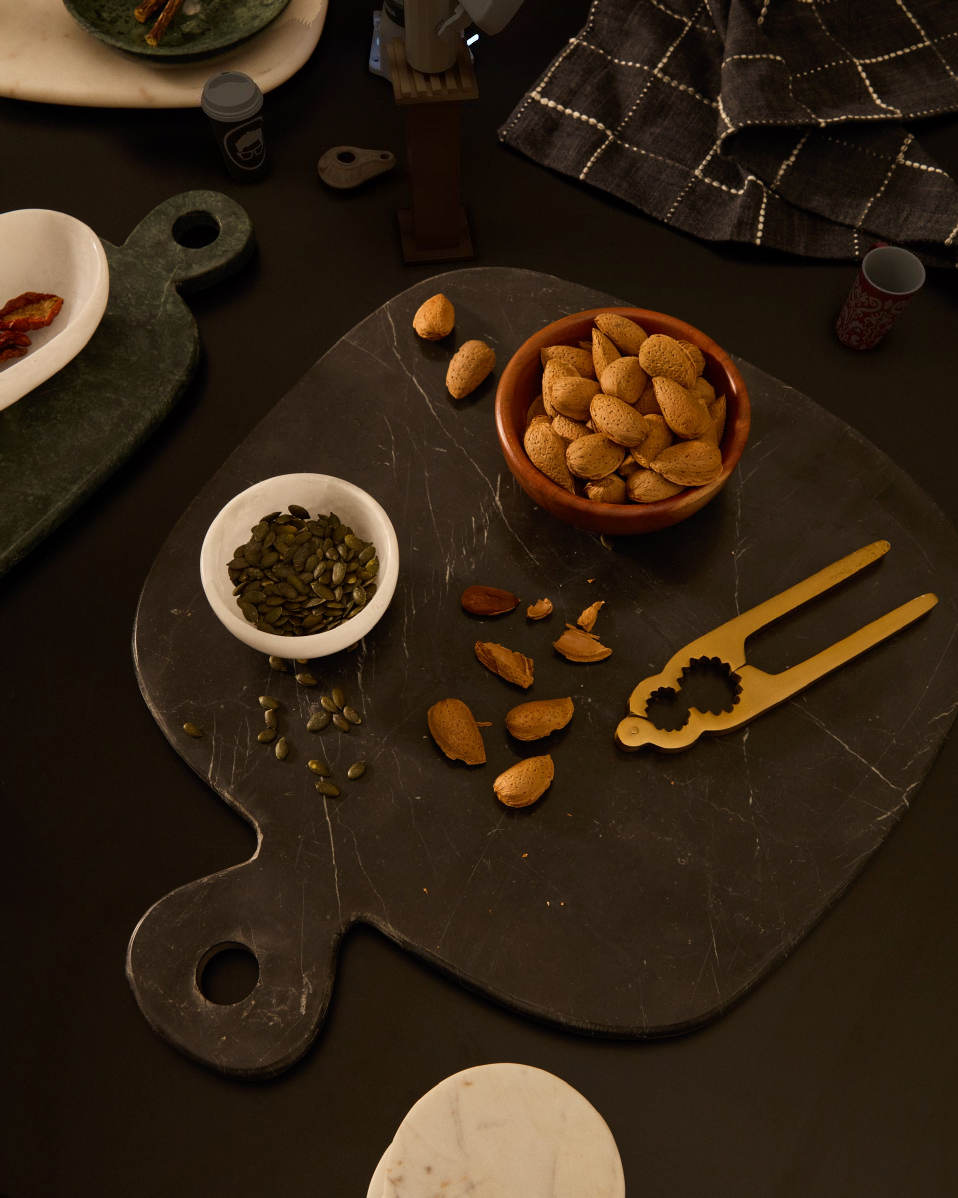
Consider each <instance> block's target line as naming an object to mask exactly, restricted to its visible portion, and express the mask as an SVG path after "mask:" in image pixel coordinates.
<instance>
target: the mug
mask: <svg viewBox="0 0 958 1198" xmlns="http://www.w3.org/2000/svg"><path fill="white" fill-rule="evenodd" d="M926 275H927V274H926V269H925V267H924V265H923V263H922V262H921V260H920V259H919V258H918V257H917V256H916V255H914V253H912V252H910V251H909V250H906V249H903V248H901V247H898V246H889V244H888V243H887V242H883V241H877V242H876V241H875V242H874V243H872V244H871V246H870V247H869V248H868V250H867V252H866V255H865V256H864V258H863V259H862V263H861V266H860V268H859V271H858V274H857V276H856V278H855V280H854V282H853V285H852V288H851V289H850V291H849V293H848V296H847V297H846V300H845V302H844V305H843V306H842V309H841V311H840V312H839V313H840V314H839V316H838V317H837V319H836V322H835V326H834V329H835V330H834V331H835V335H836V337H837V338H838V339H839V341H840V342H841V343H842V344H844V345H845V346H846V347H849V348H850V349H854V350H857V351H867V350H873V348H875V347H877V346H878V345H879V344H880V343H881V341H882V340H883V339H884V337H885V336H886V334H887V333H888V331H889V330H890V328H891V327H892V326H893V325H894V324H895V322H896V320H897V318H898V317H899V316H900V314H901V313H902V312H903V310H904V309H905V308H906V306H907V305H908V304H909V302H910V301H911V299H912V298H913V297H914V295H915V294H916V292H917V291H918V290H920V289H921V288H922V287H923V285H924V284H925V281H926Z"/></svg>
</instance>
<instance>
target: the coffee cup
mask: <svg viewBox="0 0 958 1198" xmlns="http://www.w3.org/2000/svg"><path fill="white" fill-rule="evenodd" d="M263 103H264V95H263V92H262V90H261V88H260V87H259V86H258V84H257V83H256V82H255V81H254V80H253V78H252V77H250V76H249V75H248V74H246V73H244V72H241V71H234V70H227V71H221V72H218V73H215V74H213V75H212V76H211V77H209V78H208V79H207V81H206V82H205V84H204V85H203V90H202V91H201V96H200V106H201V109H202V111H203V112H204V113H205V114H206V115H207V117H208V119H209V122H210V125H211V128H212V130H213V133H214V136H215V139H216V141H217V144H218V146H219V151H220V153H221V156H222V158H223V161H224V163H225V166H226V169H227V172H228V174H229V176H230V178H232V179H233V180H234V181H236V182H239V183H242V184H250V183H251V184H252V183H256V182H258V181H260V180H262V179H263V178H264V177H265V176H266V174H267V172H268V167H269V166H268V159H267V149H266V140H265V130H264V121H263V120H264V119H263V110H262V106H263V105H264V104H263Z"/></svg>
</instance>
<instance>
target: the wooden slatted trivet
mask: <svg viewBox="0 0 958 1198" xmlns="http://www.w3.org/2000/svg"><path fill="white" fill-rule="evenodd" d="M467 41H468V38H467V37H466V36H464V37H463V38H461V35H460V32H457V59H456V61H455V63H454V65H453V66H452V67H450V68H449V69H447V70H445V71H442V72H438V73H425V72H421V71H418V70H416V69H415V68H413V67H412V66H411V65H410V64H409V63H408V61H407V58H406V48H405V42H402V38H401V37H393V43H387V44H386V47H387V55H388V61H389V67H390V73H391V79H392V83H391V84H392V89H393V97H394V102H395V106H396V105H397V106H401V105H405V104H414V103H426V102H439V101H451V100H461V101H462V100H474V99H479V88H478V83H477V79H476V75H475V70H474V64H473V65H472V60H471V56H470V51H469V49H470V47H469V45H468V42H467Z"/></svg>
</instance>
